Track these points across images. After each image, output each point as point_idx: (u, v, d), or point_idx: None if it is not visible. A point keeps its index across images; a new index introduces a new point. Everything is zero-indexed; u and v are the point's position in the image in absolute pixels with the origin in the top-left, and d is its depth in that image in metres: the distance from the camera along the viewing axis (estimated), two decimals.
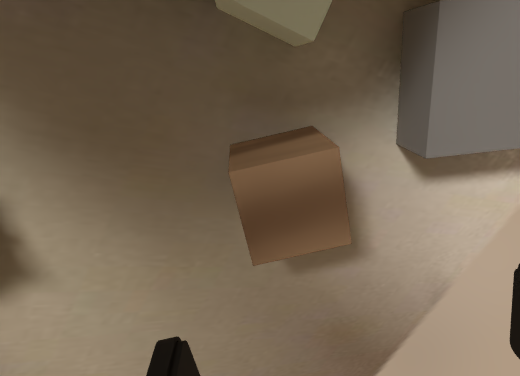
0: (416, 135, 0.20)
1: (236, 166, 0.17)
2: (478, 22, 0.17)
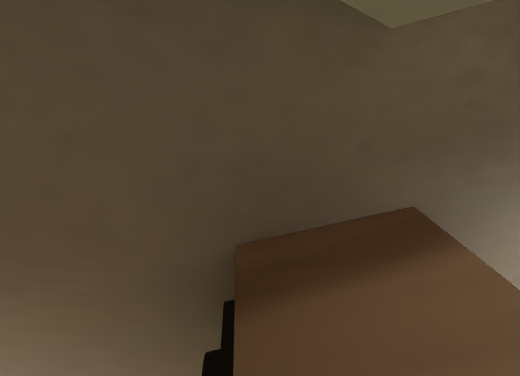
0: None
1: None
2: None
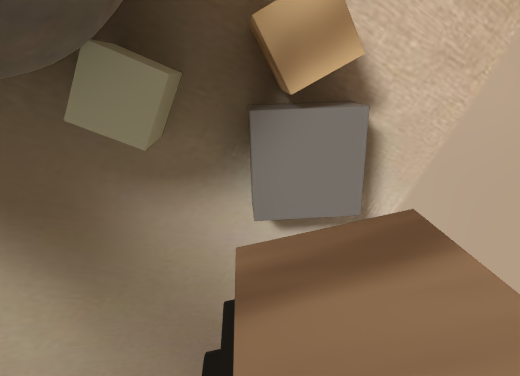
0: None
1: None
2: (282, 126, 0.22)
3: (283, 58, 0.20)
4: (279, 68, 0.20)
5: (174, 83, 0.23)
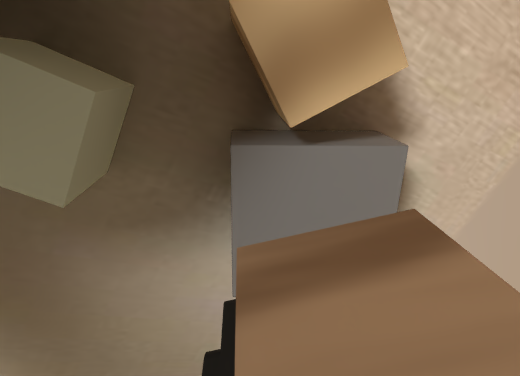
0: None
1: None
2: (277, 170, 0.15)
3: (279, 71, 0.12)
4: (272, 87, 0.12)
5: (117, 102, 0.15)
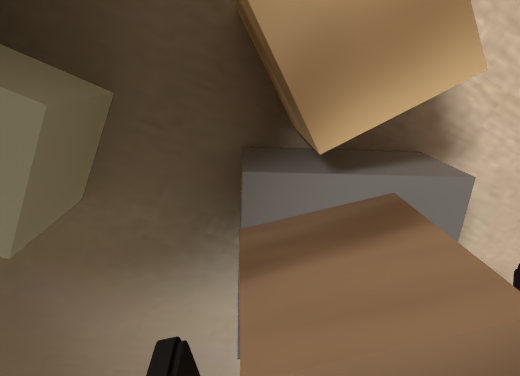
0: None
1: (260, 346, 0.06)
2: (303, 204, 0.11)
3: (306, 77, 0.09)
4: (296, 99, 0.09)
5: (89, 115, 0.12)
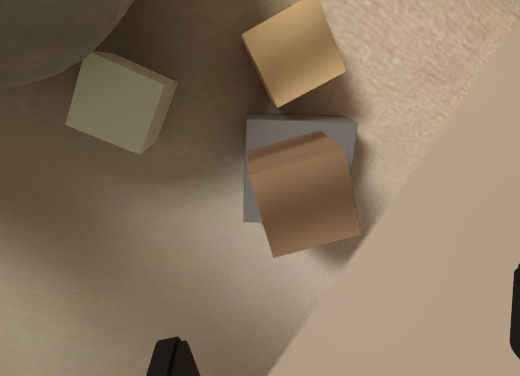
0: None
1: (255, 170, 0.19)
2: (275, 136, 0.24)
3: (270, 74, 0.21)
4: (266, 83, 0.21)
5: (170, 92, 0.24)
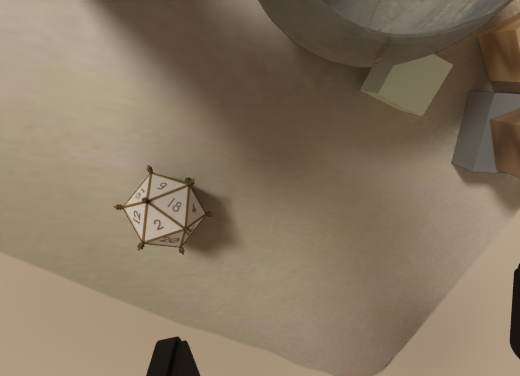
0: (467, 158, 0.35)
1: None
2: (511, 106, 0.33)
3: None
4: None
5: None
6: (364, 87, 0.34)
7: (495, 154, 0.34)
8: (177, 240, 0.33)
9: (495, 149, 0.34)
